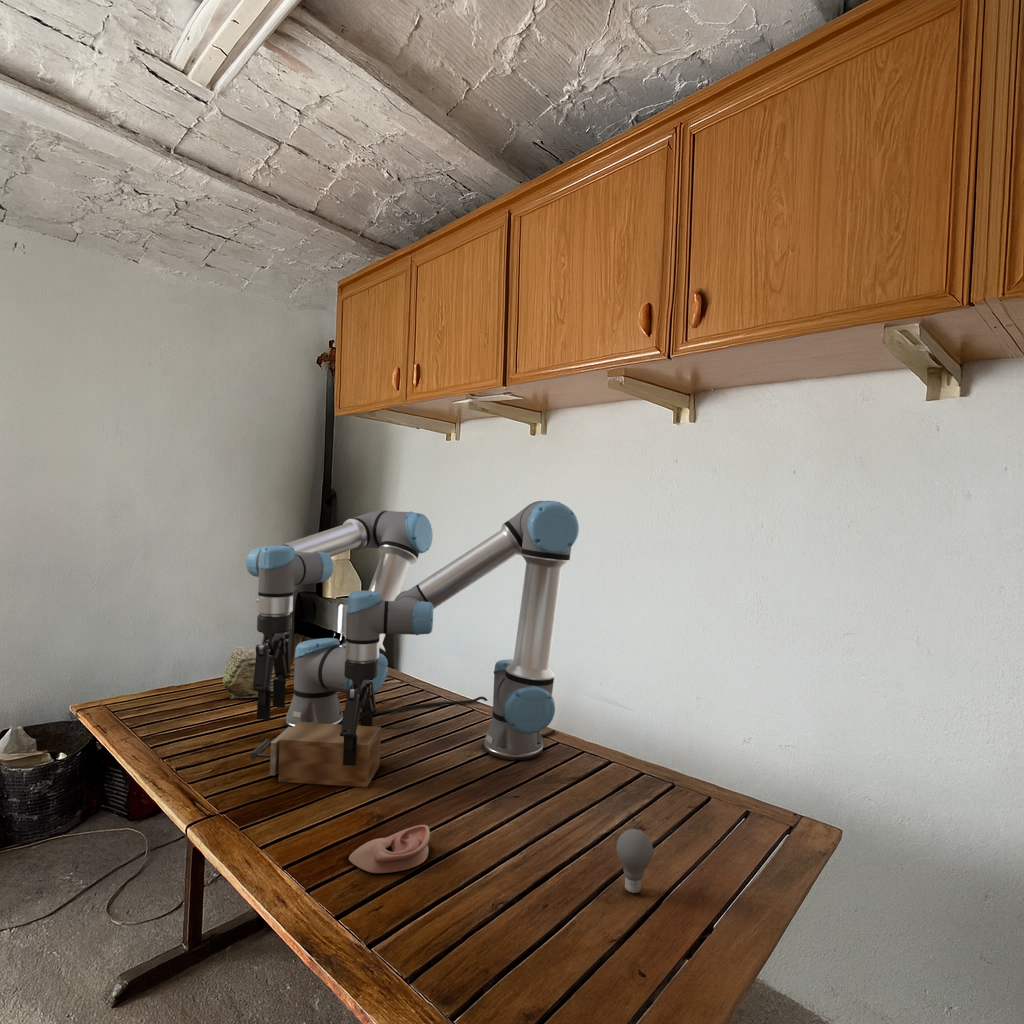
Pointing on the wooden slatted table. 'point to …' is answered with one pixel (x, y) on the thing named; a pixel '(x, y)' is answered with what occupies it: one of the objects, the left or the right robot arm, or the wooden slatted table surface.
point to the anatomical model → (393, 851)
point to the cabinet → (327, 755)
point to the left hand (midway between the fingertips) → (271, 712)
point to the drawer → (274, 752)
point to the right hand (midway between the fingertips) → (357, 753)
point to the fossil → (242, 674)
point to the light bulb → (634, 857)
